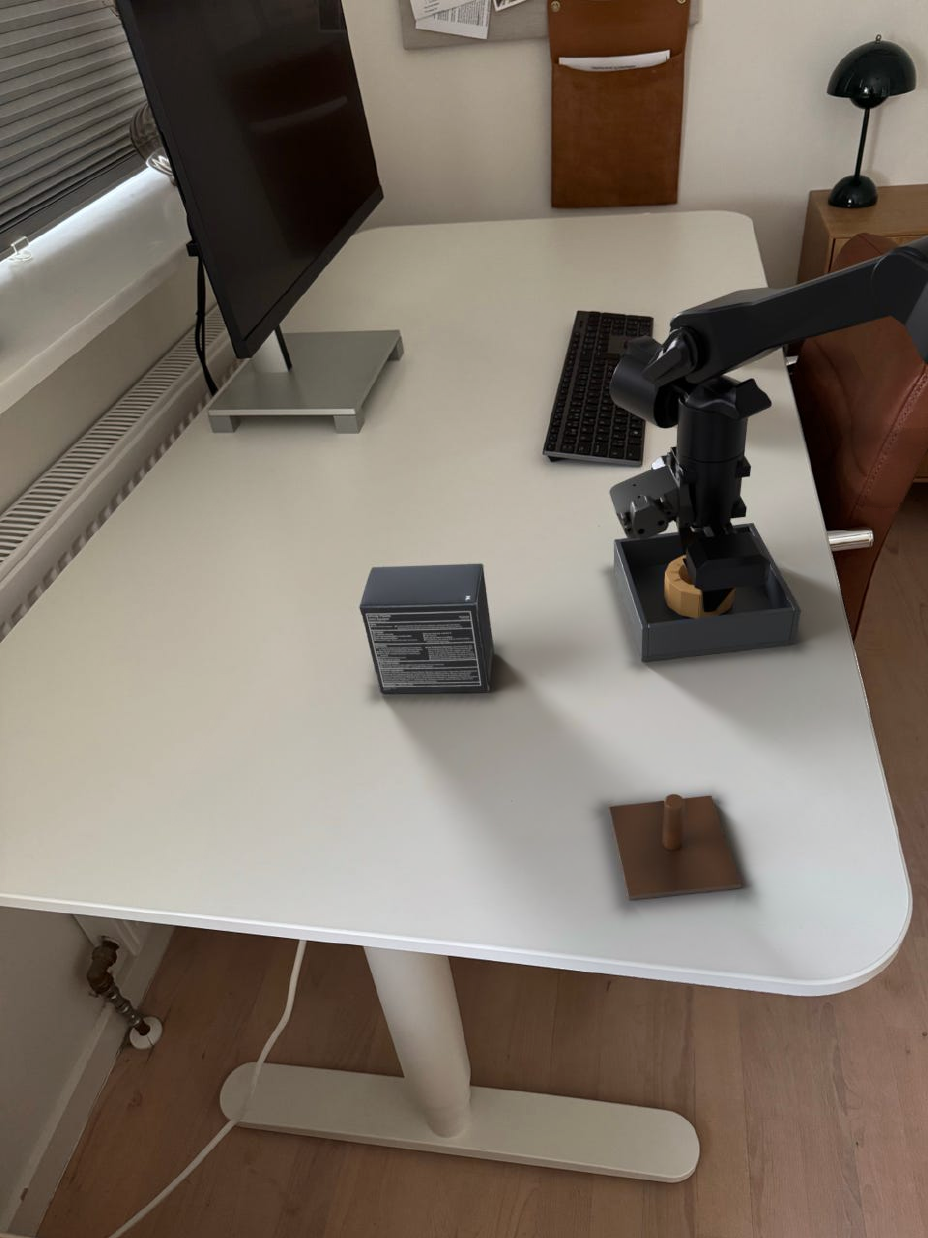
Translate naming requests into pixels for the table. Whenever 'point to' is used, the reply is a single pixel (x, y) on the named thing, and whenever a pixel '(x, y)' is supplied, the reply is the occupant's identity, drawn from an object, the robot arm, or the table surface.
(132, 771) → the table surface
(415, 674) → the small box
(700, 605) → the tape
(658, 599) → the tray
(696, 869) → the wooden peg board
